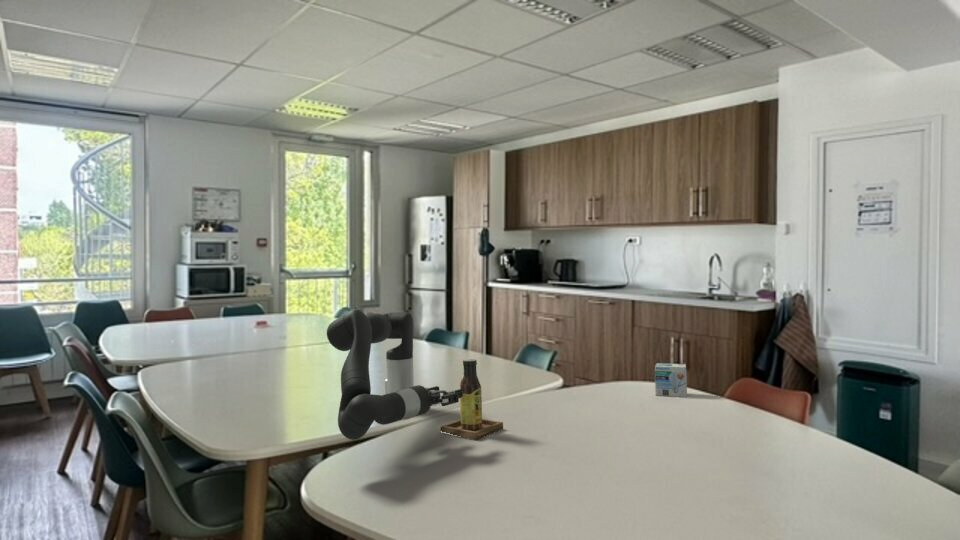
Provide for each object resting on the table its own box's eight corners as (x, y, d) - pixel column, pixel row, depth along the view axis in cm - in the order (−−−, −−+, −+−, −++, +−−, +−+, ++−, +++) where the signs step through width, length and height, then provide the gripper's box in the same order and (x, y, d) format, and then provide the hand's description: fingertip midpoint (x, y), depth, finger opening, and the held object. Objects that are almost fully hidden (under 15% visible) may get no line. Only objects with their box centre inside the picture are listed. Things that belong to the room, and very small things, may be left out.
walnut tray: (440, 433, 160) (440, 426, 160) (468, 423, 170) (468, 416, 170) (475, 440, 152) (475, 433, 152) (503, 429, 162) (502, 422, 163)
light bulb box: (655, 395, 199) (654, 365, 199) (656, 392, 205) (655, 362, 206) (686, 397, 195) (685, 366, 195) (687, 393, 201) (686, 363, 202)
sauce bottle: (480, 431, 157) (477, 361, 158) (458, 431, 159) (456, 361, 159) (484, 425, 164) (482, 358, 164) (464, 425, 165) (461, 358, 165)
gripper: (428, 390, 137) (469, 380, 150) (388, 385, 145) (430, 375, 158) (429, 421, 137) (470, 407, 150) (389, 414, 145) (431, 402, 158)
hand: (449, 391), depth 154 cm, fingers open, 8 cm apart
